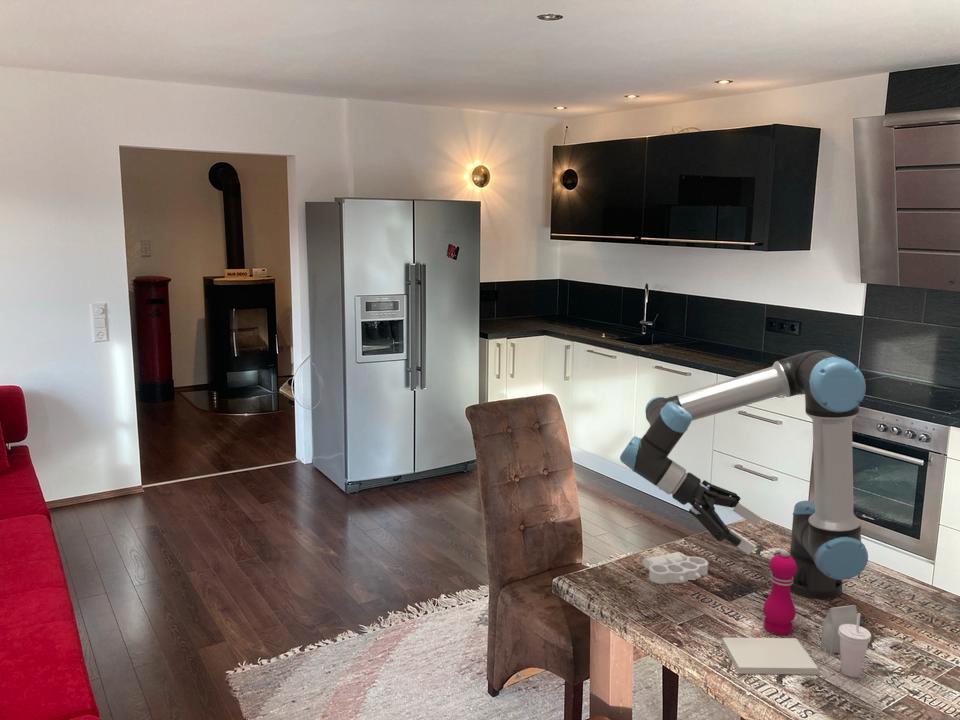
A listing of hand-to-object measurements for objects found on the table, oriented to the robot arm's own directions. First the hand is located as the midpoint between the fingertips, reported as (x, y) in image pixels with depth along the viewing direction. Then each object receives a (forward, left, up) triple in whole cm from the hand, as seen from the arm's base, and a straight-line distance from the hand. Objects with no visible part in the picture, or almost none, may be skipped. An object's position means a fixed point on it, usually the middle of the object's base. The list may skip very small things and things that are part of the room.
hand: (756, 535), depth 186 cm
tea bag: (-17, +12, -22) cm, 30 cm away
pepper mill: (-6, +4, -22) cm, 23 cm away
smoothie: (-15, +22, -22) cm, 34 cm away
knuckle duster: (+12, -26, -23) cm, 36 cm away
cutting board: (+1, +17, -22) cm, 28 cm away
